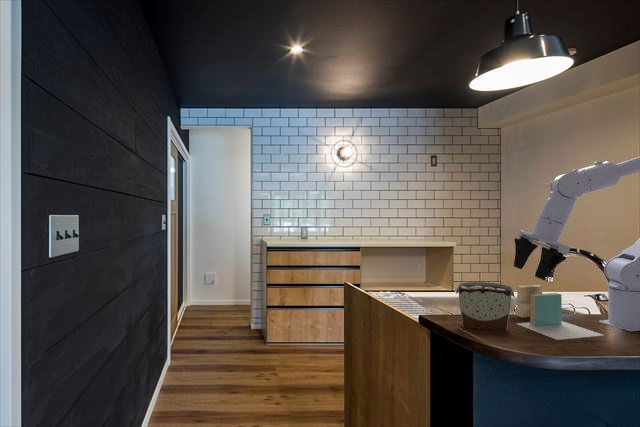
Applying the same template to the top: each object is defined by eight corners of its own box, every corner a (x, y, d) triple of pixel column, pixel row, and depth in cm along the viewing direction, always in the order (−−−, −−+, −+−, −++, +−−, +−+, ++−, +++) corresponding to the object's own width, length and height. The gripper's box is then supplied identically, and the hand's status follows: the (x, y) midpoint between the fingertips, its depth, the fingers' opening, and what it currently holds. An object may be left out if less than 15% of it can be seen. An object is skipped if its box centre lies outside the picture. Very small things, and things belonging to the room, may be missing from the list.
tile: (556, 322, 95) (556, 293, 94) (561, 324, 93) (561, 294, 93) (530, 324, 93) (530, 294, 93) (535, 326, 91) (535, 296, 91)
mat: (559, 322, 97) (559, 320, 97) (604, 337, 85) (604, 335, 85) (515, 325, 94) (515, 323, 94) (556, 342, 82) (556, 339, 82)
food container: (509, 325, 95) (509, 282, 94) (514, 333, 89) (514, 287, 89) (454, 321, 98) (454, 280, 98) (455, 328, 92) (455, 285, 92)
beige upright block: (537, 316, 102) (537, 284, 102) (542, 318, 101) (542, 286, 101) (517, 317, 101) (517, 286, 101) (521, 319, 99) (521, 287, 99)
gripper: (518, 210, 102) (496, 259, 104) (562, 222, 88) (536, 278, 90) (539, 219, 104) (517, 267, 106) (586, 232, 90) (560, 287, 92)
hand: (527, 272), depth 98 cm, fingers open, 7 cm apart
